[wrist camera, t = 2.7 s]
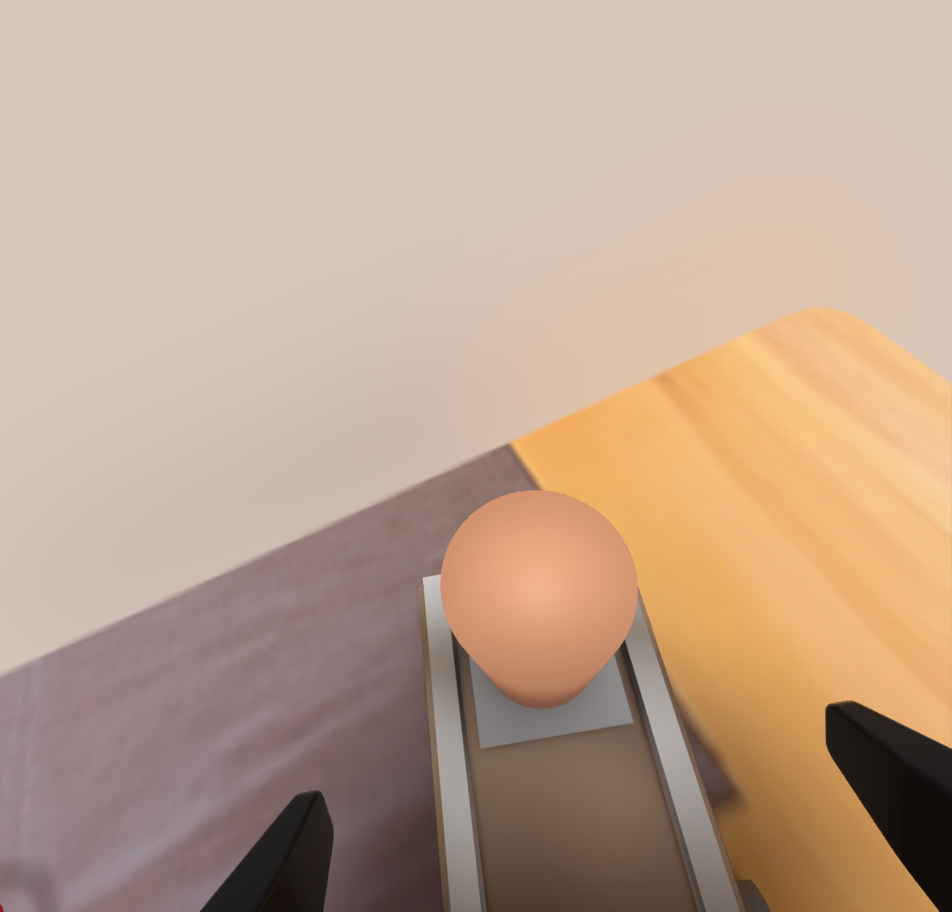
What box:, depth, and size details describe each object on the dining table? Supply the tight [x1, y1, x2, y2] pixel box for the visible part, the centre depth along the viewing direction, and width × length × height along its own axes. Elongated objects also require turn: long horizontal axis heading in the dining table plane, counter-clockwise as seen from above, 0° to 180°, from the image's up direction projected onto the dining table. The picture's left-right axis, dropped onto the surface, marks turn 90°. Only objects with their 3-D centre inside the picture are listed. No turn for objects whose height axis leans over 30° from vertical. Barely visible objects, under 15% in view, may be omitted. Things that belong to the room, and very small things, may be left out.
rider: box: [440, 490, 638, 749], centre depth 12 cm, size 5×4×9 cm
